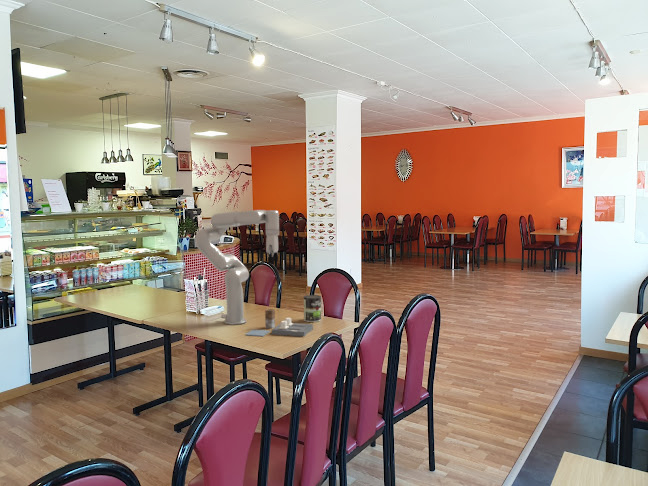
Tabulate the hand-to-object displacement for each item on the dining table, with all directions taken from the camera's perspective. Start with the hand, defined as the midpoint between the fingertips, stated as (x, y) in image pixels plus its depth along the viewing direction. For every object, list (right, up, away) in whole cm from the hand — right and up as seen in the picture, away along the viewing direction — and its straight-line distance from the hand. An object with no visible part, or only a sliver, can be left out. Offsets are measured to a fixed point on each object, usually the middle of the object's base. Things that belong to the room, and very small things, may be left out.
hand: (273, 262), depth 285 cm
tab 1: (+7, -34, -14) cm, 38 cm away
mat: (-7, -37, -14) cm, 40 cm away
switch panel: (+12, -37, -11) cm, 40 cm away
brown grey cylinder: (-2, -36, -2) cm, 36 cm away
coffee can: (+22, -35, +14) cm, 43 cm away
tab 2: (+9, -34, -7) cm, 36 cm away
